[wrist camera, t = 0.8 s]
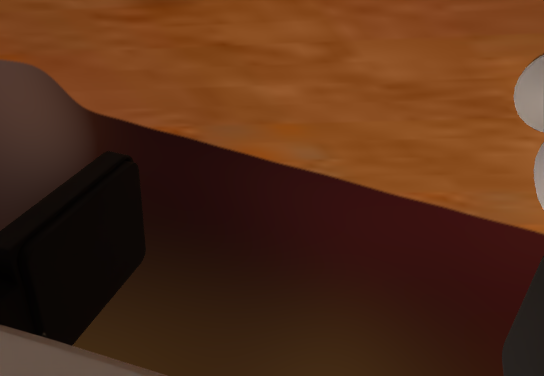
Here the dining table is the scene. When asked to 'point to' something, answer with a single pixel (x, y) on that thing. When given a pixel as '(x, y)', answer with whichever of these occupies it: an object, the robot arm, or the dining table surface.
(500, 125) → the dining table surface
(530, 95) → the wineglass
